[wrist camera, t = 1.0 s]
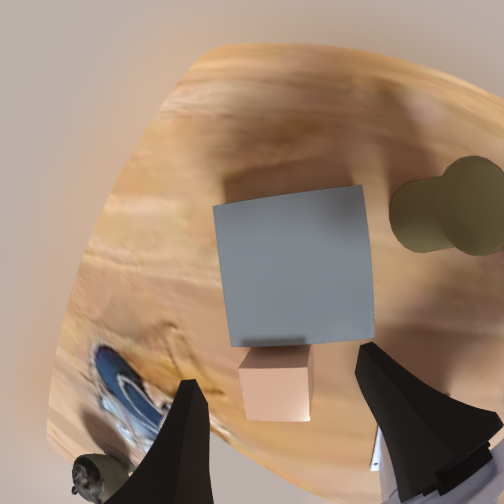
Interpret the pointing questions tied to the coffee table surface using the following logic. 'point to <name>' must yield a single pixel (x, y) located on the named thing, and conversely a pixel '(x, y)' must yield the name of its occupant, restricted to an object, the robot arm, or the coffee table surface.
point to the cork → (452, 209)
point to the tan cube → (277, 383)
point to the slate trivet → (296, 268)
